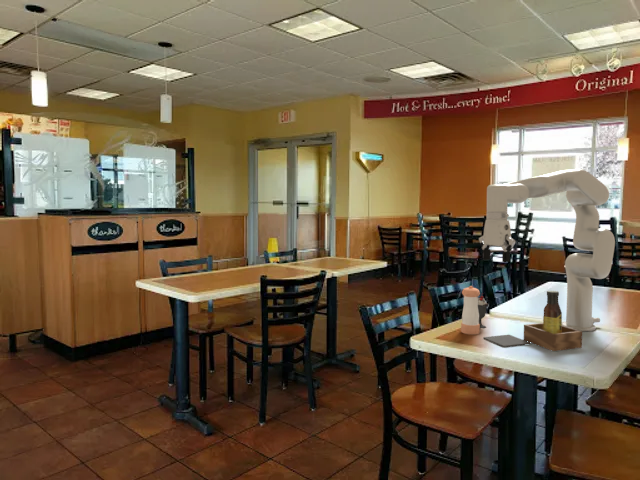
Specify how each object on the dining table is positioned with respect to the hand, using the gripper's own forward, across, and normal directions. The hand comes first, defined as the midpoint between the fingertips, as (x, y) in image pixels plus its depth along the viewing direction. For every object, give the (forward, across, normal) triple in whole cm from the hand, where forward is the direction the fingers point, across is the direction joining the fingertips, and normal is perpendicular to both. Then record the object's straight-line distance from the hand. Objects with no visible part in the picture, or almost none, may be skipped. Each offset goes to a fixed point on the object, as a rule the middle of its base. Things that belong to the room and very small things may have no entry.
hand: (496, 260), depth 186 cm
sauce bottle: (+31, -16, -13) cm, 37 cm away
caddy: (+31, -16, -13) cm, 37 cm away
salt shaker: (+31, +11, +2) cm, 33 cm away
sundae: (+31, +16, -8) cm, 35 cm away
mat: (+31, -6, 0) cm, 31 cm away
